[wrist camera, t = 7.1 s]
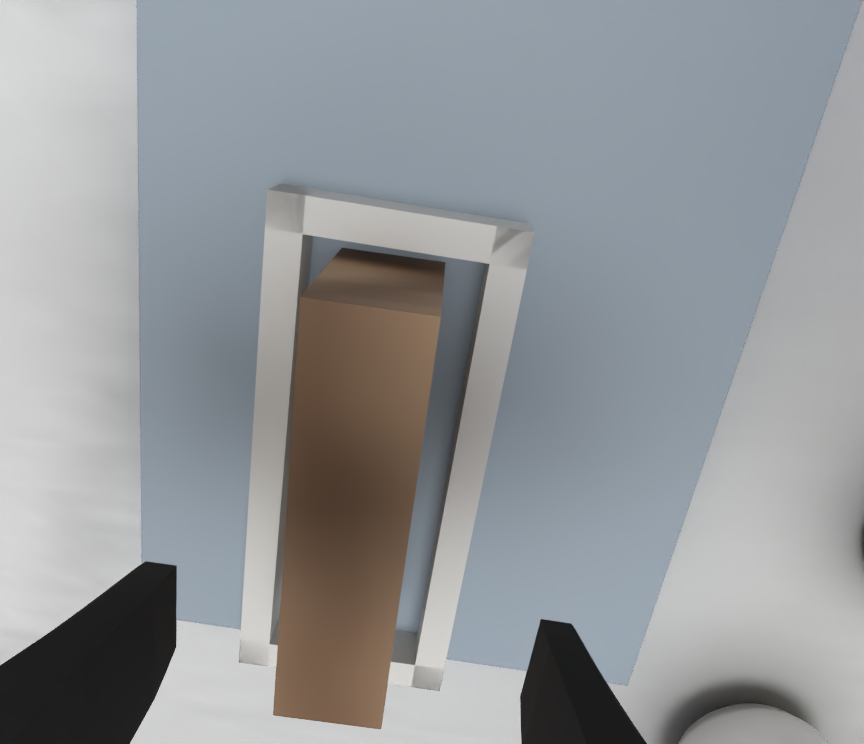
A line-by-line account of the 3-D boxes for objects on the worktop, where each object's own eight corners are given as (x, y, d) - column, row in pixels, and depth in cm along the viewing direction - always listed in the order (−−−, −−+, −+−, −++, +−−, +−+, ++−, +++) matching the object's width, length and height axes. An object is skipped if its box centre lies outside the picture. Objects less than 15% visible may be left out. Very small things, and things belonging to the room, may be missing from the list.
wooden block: (445, 262, 19) (440, 316, 14) (397, 595, 24) (381, 729, 19) (341, 247, 19) (299, 297, 14) (312, 584, 24) (272, 715, 19)
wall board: (965, -368, 15) (1059, -457, 12) (621, 664, 26) (637, 720, 23) (152, -516, 14) (93, -636, 12) (153, 596, 25) (123, 645, 23)
